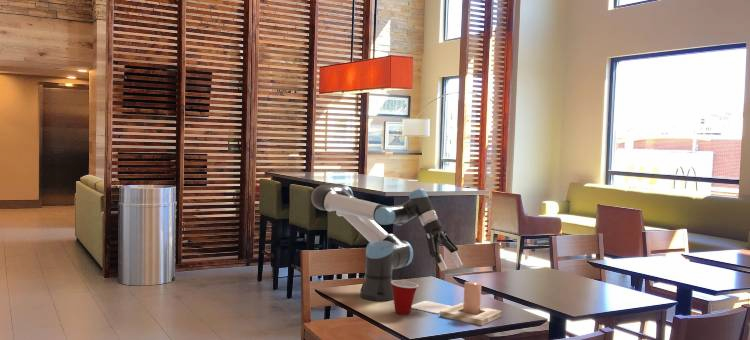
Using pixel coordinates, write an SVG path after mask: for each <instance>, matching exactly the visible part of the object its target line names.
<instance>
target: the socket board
mask: <svg viewBox="0 0 750 340" xmlns="http://www.w3.org/2000/svg"><path fill="white" fill-rule="evenodd" d="M463 304H464V302H459V303H458V304H455V305H453V306H452V305H451V306H452V307H449V308H447V309H444V310H442V311H440V314H439V316H440V317H442V318H447V319H452V320H455V321H461V322H464V323H469V324H475V325H478V326H484V325H486V324H488V323H491V322H492V321H495V320H497V319H500V318H501V317H503V310H499V309H494V308H488V307H484V306H480V314H478V315H473V314H468V313H463Z"/></svg>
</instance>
